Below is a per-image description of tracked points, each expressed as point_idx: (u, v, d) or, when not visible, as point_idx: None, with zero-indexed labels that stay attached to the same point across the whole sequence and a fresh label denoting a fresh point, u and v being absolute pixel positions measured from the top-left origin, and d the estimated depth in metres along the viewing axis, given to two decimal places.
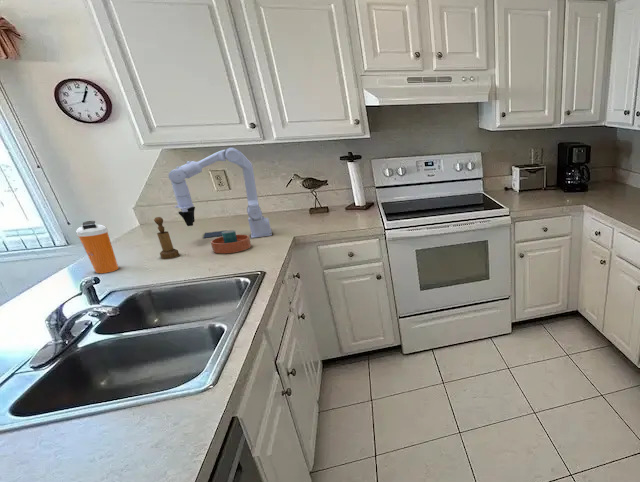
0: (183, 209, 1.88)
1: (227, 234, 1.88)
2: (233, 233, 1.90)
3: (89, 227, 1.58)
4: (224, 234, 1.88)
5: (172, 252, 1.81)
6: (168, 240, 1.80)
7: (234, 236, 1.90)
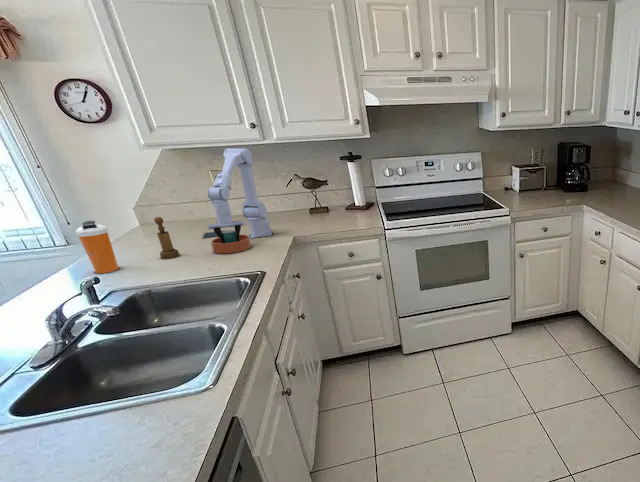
0: (244, 222, 1.92)
1: (227, 234, 1.88)
2: (233, 233, 1.90)
3: (89, 227, 1.58)
4: (224, 234, 1.88)
5: (172, 252, 1.81)
6: (168, 240, 1.80)
7: (234, 236, 1.90)
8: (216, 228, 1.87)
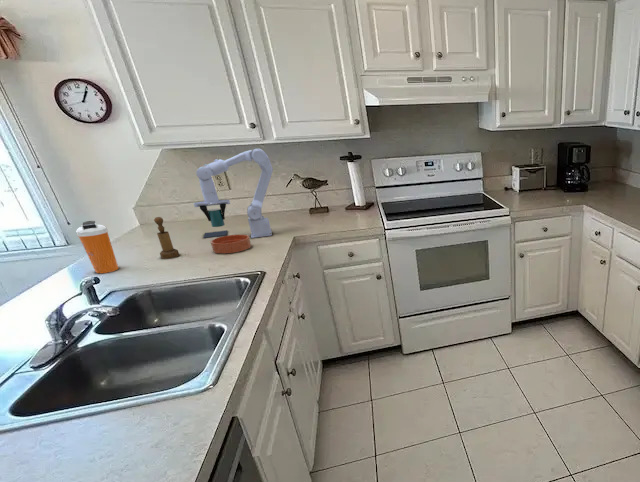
0: (229, 201, 2.03)
1: (213, 212, 1.99)
2: (218, 211, 2.01)
3: (89, 227, 1.58)
4: (210, 212, 1.99)
5: (172, 252, 1.81)
6: (168, 240, 1.80)
7: (219, 214, 2.02)
8: (202, 206, 1.98)
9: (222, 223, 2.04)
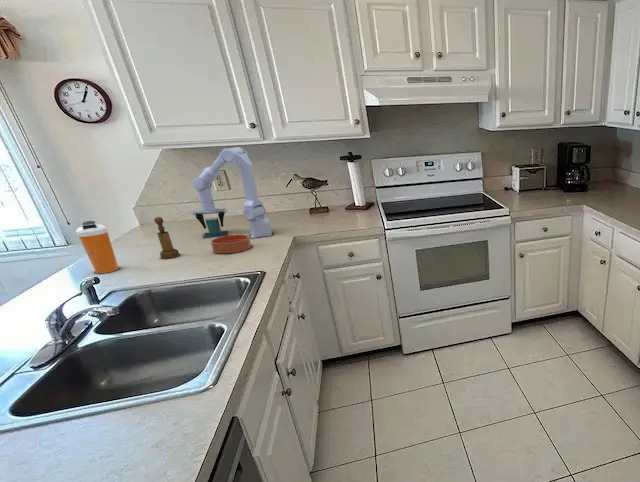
0: (225, 210, 2.15)
1: (210, 221, 2.11)
2: (215, 220, 2.13)
3: (89, 227, 1.58)
4: (207, 221, 2.11)
5: (172, 252, 1.81)
6: (168, 240, 1.80)
7: (216, 223, 2.14)
8: (200, 214, 2.10)
9: (219, 232, 2.15)
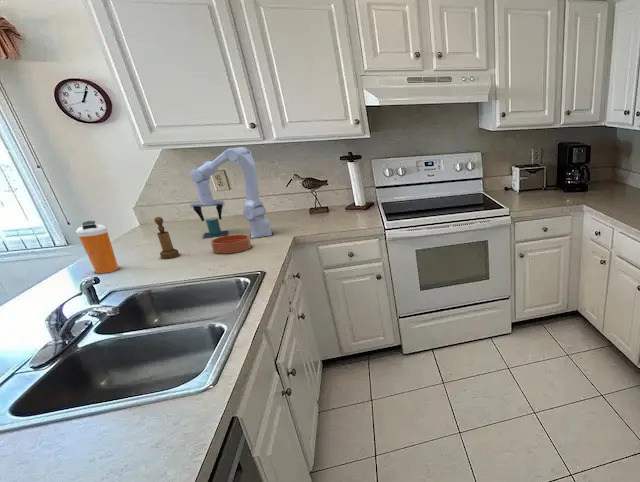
0: (223, 202, 2.13)
1: (210, 221, 2.11)
2: (215, 220, 2.13)
3: (89, 227, 1.58)
4: (207, 221, 2.11)
5: (172, 252, 1.81)
6: (168, 240, 1.80)
7: (216, 223, 2.14)
8: (198, 206, 2.09)
9: (219, 232, 2.15)
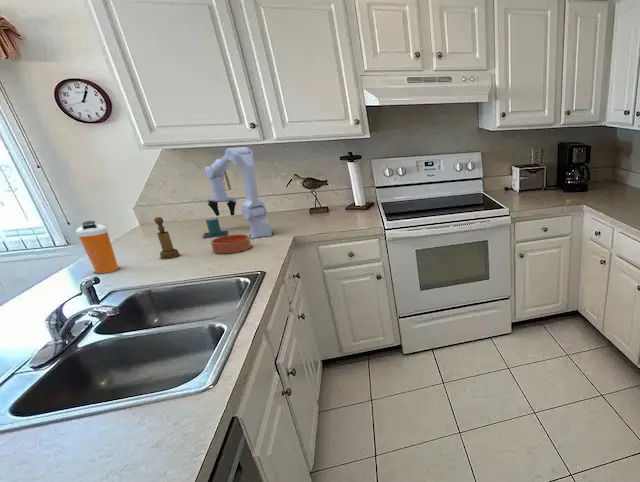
0: (235, 199, 2.18)
1: (210, 221, 2.11)
2: (215, 220, 2.13)
3: (89, 227, 1.58)
4: (207, 221, 2.11)
5: (172, 252, 1.81)
6: (168, 240, 1.80)
7: (216, 223, 2.14)
8: (212, 202, 2.17)
9: (219, 232, 2.15)
